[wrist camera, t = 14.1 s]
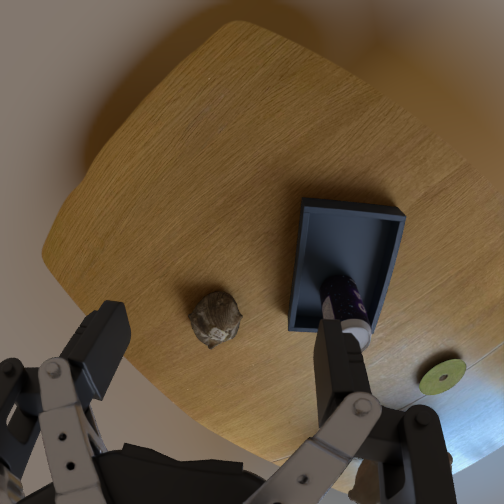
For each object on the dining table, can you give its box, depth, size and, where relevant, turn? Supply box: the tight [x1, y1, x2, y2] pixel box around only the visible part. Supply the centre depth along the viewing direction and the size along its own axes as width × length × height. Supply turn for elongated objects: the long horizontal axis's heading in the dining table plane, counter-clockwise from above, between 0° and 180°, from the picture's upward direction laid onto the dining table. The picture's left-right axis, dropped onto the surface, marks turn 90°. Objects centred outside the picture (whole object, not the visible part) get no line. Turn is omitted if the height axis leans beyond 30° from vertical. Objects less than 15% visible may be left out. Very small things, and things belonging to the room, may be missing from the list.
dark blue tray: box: [288, 197, 406, 334], centre depth 44 cm, size 20×14×4 cm
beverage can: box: [319, 275, 372, 352], centre depth 41 cm, size 6×6×12 cm
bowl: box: [348, 452, 453, 504], centre depth 60 cm, size 27×29×20 cm
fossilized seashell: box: [188, 292, 243, 349], centre depth 49 cm, size 8×7×10 cm
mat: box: [419, 359, 466, 395], centre depth 55 cm, size 11×11×2 cm
